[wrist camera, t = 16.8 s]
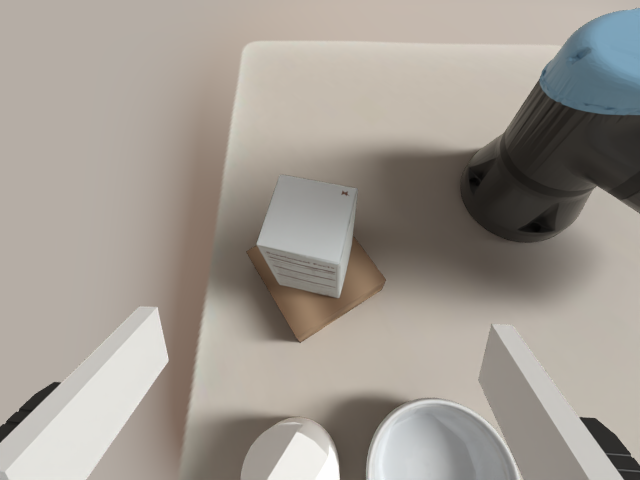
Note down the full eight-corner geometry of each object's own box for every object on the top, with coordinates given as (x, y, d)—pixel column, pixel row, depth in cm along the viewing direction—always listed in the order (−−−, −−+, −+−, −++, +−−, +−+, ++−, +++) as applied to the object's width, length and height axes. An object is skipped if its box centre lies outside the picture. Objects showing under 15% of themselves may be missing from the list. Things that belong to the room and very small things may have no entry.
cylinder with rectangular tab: (287, 399, 39) (268, 404, 28) (355, 451, 36) (364, 480, 25) (237, 477, 36) (194, 517, 25) (307, 539, 34) (293, 613, 23)
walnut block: (330, 221, 48) (329, 203, 43) (380, 290, 44) (385, 279, 39) (255, 265, 46) (245, 251, 41) (300, 343, 42) (296, 337, 37)
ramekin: (335, 464, 36) (335, 482, 30) (413, 369, 39) (429, 366, 33) (438, 582, 32) (463, 631, 26) (515, 464, 35) (555, 482, 29)
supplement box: (294, 229, 42) (279, 170, 30) (353, 242, 41) (361, 186, 29) (276, 286, 39) (252, 244, 28) (339, 301, 38) (341, 264, 27)
